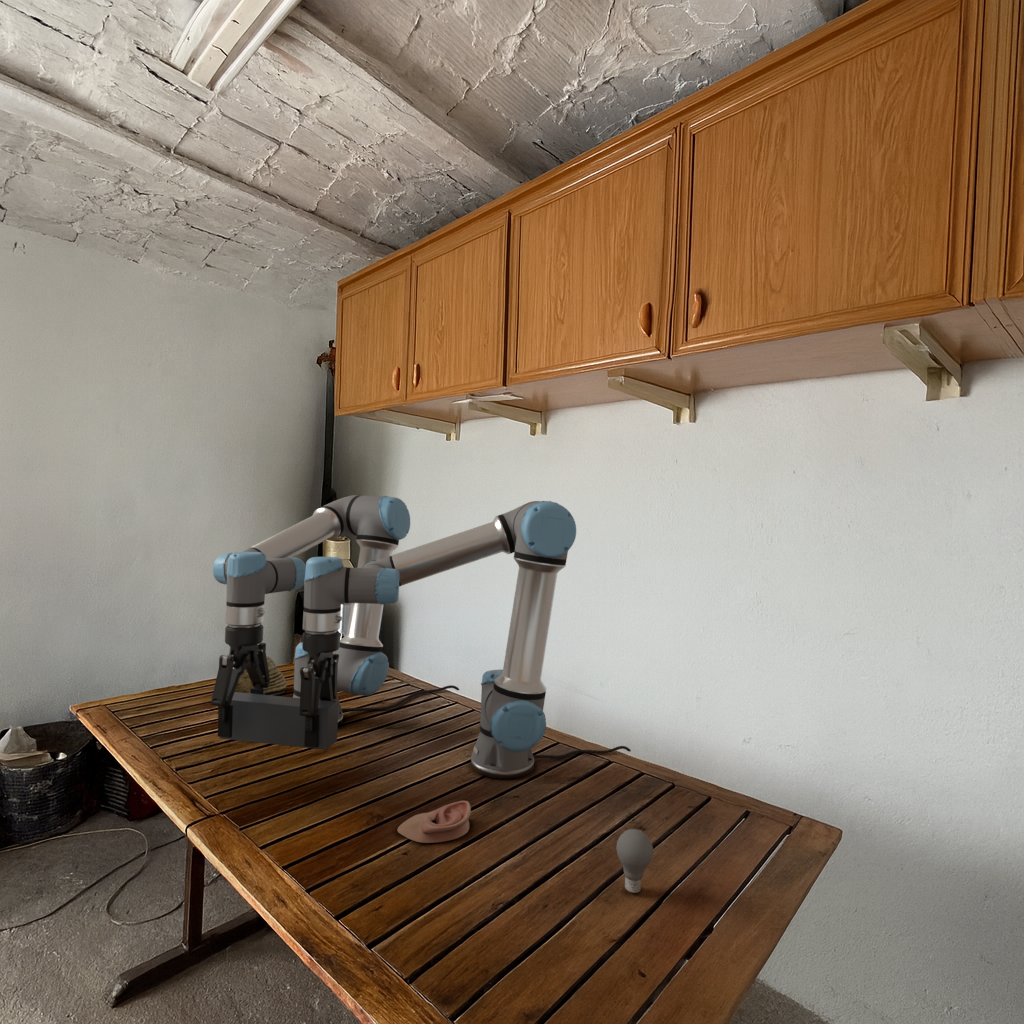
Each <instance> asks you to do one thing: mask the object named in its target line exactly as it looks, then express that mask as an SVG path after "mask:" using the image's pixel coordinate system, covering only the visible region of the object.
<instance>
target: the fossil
mask: <svg viewBox="0 0 1024 1024" xmlns="http://www.w3.org/2000/svg"><path fill="white" fill-rule="evenodd" d="M266 658H267V664H268V670H269V676H270V681H269V686H268V688H263V695H272V696H277V695H281V694H284V693H285V691H286V689H287V687H288V686H287V680H286V678H285V676H284V674H283V673H282V672H281V669H279V668H278V667H277V665H276V663H275V662H274V660H273V659H272V658H271V657H270V656H269V655H268V654H267V653H266ZM233 669H234V668H233ZM263 677H265V676H263ZM251 688H255V687H253V685H252V682H251V680H250V677H249V675H248V672H247V670H246V669H245V670H244V673H243V674H242V675H240V678H239V681H238V684H237V687H236V689H235V692H240V693H250V689H251Z"/></svg>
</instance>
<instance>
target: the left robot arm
mask: <svg viewBox="0 0 1024 1024" xmlns="http://www.w3.org/2000/svg"><path fill="white" fill-rule="evenodd" d="M410 529H411V515H410V510H409V509H408V507H407V505H406V503H405V502H404V501H403V500H402V499H400V497H399V498H398V497H394V496H387V495H360V494H353V495H352V494H351V495H348V496H345V497H341V498H339V499H336V500H333V501H331V502H329V503H327V504H325V505H322V506H321V507H319V508H317V509H315V510H314V511H313V513H312V515H310V516H309V517H307V518H305V519H303V520H301V521H299V522H297V523H295V524H293V525H291V526H289V527H287V528H286V529H283V530H282V531H280V532H278V533H276V534H274V535H271V536H269V537H267V538H266V539H263V540H262V541H260V542H258V543H256V544H254V545H252V546H250V547H248V548H246V549H244V550H242V551H235V552H230V553H228V552H226V553H222V554H220V555H219V556H217V558H215V560H214V562H213V565H212V575H213V577H214V580H215V581H217V582H218V583H219V584H221V585H225V586H226V602H225V603H226V605H225V618H224V620H225V621H224V622H225V623H224V624H225V625H226V627H225V628H224V629H225V630H224V643H225V644H226V645H228V647H229V652H228V654H226V655H224V654H221V655H219V658H218V669H217V673H216V679H215V683H214V687H213V692H212V694H211V695H212V696H211V700H210V705H211V706H213V707H214V706H215V707H217V708H218V709H217V737H218V738H220V737H226V738H230V737H232V722H233V705H230V704H231V701H232V698H233V695H234V692H235V689H236V687H237V684H238V681H239V678H240V675H242V674H243V673H244V670H245V669H246V670H247V672H248V675H249V677H250V680H251V682H252V685H253V687H255V688H251V689H250V693H251V694H261V695H263V688H268V686H269V681H270V676H269V670H268V664H267V658H266V654H267V652H266V651H267V643H266V642H263V641H264V625H263V623H264V618H265V617H264V616H265V612H266V611H265V598H266V595H268V594H275V593H283V592H291V591H295V590H298V589H301V588H302V587H304V579H305V570H306V562H304V561H303V560H302V559H301V558H299V557H298V556H300V555H302V554H304V553H306V552H307V551H309V550H310V549H312V548H314V547H317V546H318V545H319V544H321V543H323V542H325V541H326V540H327V541H333V540H334V541H335V540H336V539H338V538H339V537H344V536H347V537H348V536H355V537H356V539H355V542H356V543H357V545H358V546H359V548H360V549H359V555H358V560H357V561H358V562H357V567H356V568H361V567H362V566H363V565H365V564H366V563H367V562H369V561H372V560H379V559H382V558H385V557H389V556H392V553H393V551H395V550H397V548H399V543H400V541H401V540H403V539H405V538H406V537H407V535H408V534H409V532H410ZM384 605H385V604H383V605H381V604H369V603H350V610H349V617H348V623H347V629H346V635H345V636H344V637H343V638H340V647H339V649H338V650H336V651H334V652H333V654H339V661H338V675H337V692H342V693H347V694H351V695H353V696H362V697H369V696H372V695H374V694H376V693H377V692H378V691H379V690H380V688H381V687H382V686H383V685H384V683H385V681H386V679H387V677H388V673H389V668H390V661H389V658H388V656H387V655H386V654H385V653H384V652H383V650H384V649H383V648H384V644H383V643H382V641H381V640H380V638H379V636H380V631H381V624H382V617H383V610H384ZM294 653H295V654H294V657H293V662H294V663H293V665H294V666H293V695H292V696H293V697H292V698H300V690H301V676H300V669H301V667H304V668H306V666H307V661H308V657H309V653H308V652H306V651H304V650H303V649H302V642H299V643H298V644H297V645H296V647H295V652H294ZM233 668H234V669H233ZM263 676H265V677H263ZM315 678H318V677H315ZM447 689H454V690H456V691H460V688H459V687H458V686H456V685H452V684H451V685H446V686H443V687H439V688H434V689H429V690H428V689H426V690H421V691H417V692H414V693H411V694H408V695H407V696H406V697H404V698H402V699H400V700H399V701H397V702H395V703H393V704H390V705H385V706H375V707H374V706H373V707H348V708H342V706H341V702H340V699H339V695H338V694H337V698H336V699H333V701H337V702H338V727H339V726H340V725H342V723H343V722H344V713H346V712H367V711H384V710H389V709H393V708H396V707H398V706H399V705H401V704H403V703H404V702H406V701H408V700H410V699H412V698H413V697H416V696H419V695H423V694H424V695H425V694H431V693H437V692H441V691H444V690H447ZM319 700H320V698H319ZM343 712H344V713H343Z"/></svg>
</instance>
